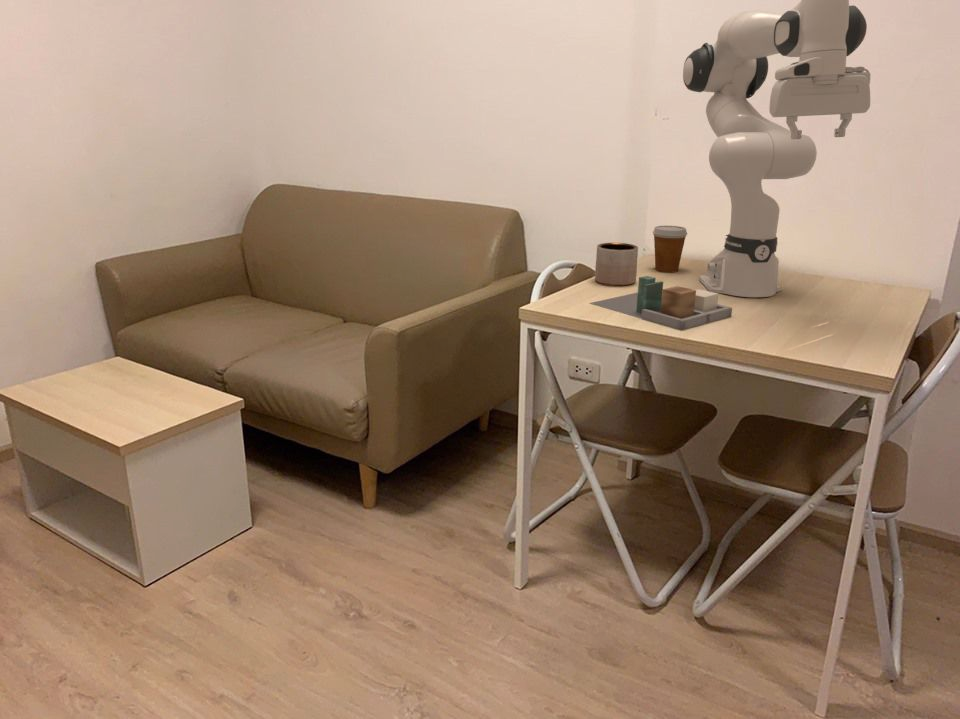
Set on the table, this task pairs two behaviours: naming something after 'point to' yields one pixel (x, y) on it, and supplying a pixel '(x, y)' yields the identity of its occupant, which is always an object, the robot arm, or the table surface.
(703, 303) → the cream block
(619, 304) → the board
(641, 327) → the table surface
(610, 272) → the planter
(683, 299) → the toy blocks
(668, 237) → the disposable coffee cup
